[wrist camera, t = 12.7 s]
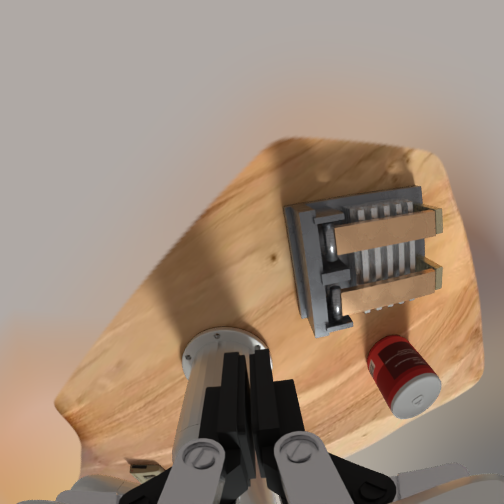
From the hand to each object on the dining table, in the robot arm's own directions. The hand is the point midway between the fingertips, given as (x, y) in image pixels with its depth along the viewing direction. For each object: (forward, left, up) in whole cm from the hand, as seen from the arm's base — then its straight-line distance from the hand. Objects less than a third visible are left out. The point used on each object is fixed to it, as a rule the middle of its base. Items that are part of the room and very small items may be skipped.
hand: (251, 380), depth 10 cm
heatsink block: (-4, -14, -25) cm, 29 cm away
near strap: (-1, -14, -19) cm, 24 cm away
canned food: (-22, -18, -25) cm, 38 cm away
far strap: (-8, -14, -19) cm, 25 cm away
